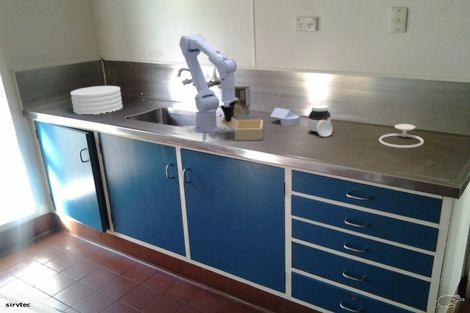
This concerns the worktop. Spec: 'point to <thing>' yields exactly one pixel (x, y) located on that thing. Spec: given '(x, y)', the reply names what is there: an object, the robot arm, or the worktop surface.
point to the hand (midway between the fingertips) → (229, 119)
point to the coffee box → (242, 103)
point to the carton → (249, 130)
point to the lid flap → (230, 123)
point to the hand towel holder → (404, 128)
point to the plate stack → (96, 99)
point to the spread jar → (320, 120)
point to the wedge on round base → (286, 117)
